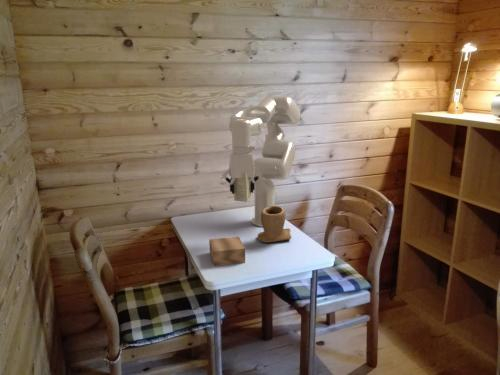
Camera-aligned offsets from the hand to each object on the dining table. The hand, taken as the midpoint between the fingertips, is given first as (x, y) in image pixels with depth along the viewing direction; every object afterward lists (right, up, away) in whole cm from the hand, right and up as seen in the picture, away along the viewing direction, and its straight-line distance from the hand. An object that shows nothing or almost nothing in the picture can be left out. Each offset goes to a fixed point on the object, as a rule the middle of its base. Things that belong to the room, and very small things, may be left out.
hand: (242, 192), depth 168 cm
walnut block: (-6, -26, -10) cm, 28 cm away
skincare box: (0, -4, +1) cm, 4 cm away
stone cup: (+14, -21, +7) cm, 26 cm away
